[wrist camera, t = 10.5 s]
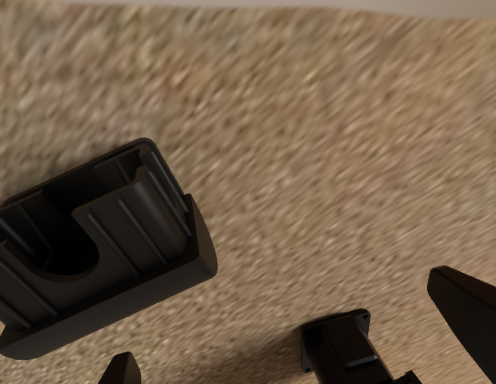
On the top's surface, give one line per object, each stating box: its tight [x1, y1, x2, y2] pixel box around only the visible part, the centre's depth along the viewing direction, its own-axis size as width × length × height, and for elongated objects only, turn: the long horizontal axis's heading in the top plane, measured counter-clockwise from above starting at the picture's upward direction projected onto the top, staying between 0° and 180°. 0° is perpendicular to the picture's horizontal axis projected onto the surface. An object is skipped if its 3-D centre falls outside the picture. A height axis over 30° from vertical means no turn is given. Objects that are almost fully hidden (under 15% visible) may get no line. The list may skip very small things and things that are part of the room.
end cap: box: [0, 138, 218, 360], centre depth 17 cm, size 10×7×7 cm
